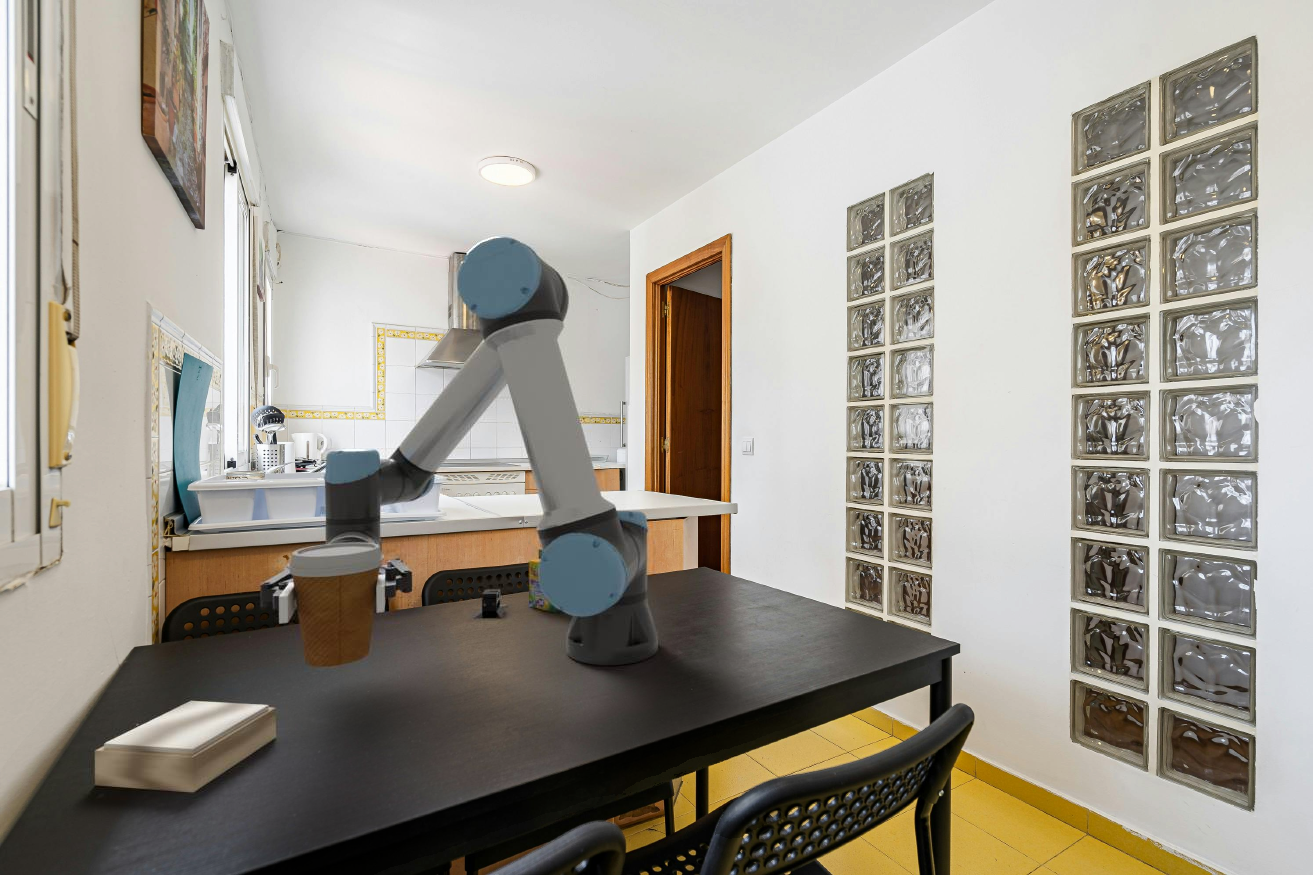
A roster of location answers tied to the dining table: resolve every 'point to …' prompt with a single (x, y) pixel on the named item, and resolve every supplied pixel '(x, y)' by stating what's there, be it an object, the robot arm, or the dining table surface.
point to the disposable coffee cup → (335, 600)
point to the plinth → (185, 746)
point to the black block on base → (490, 605)
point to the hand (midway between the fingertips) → (333, 604)
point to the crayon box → (537, 588)
